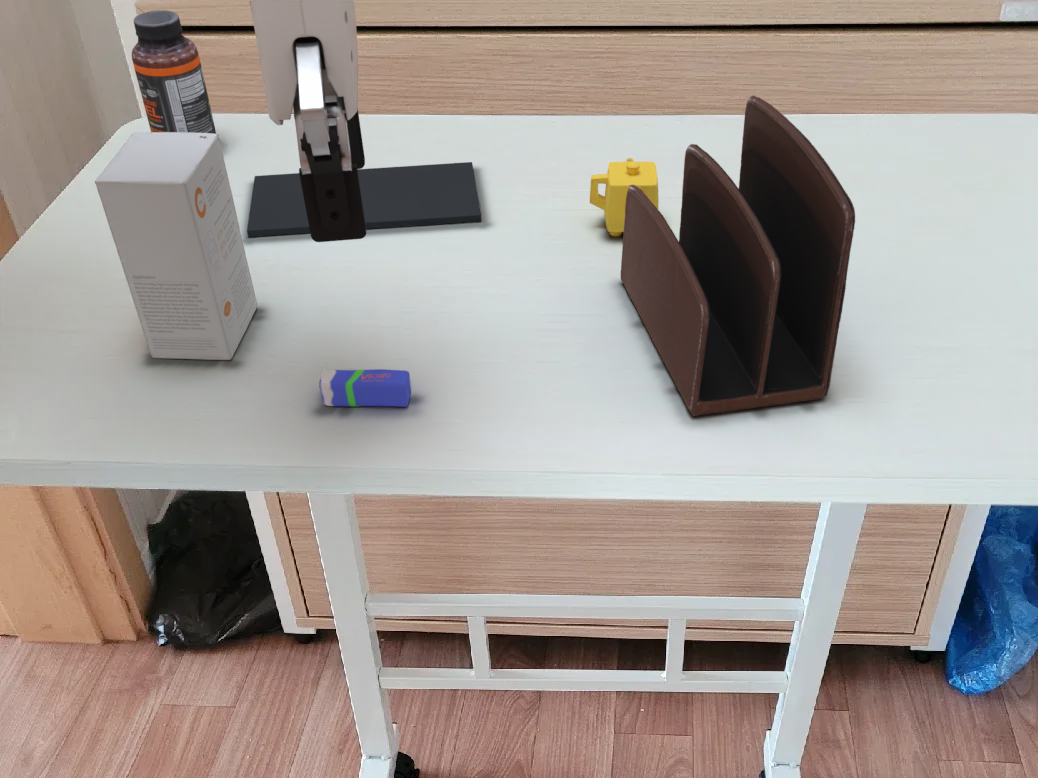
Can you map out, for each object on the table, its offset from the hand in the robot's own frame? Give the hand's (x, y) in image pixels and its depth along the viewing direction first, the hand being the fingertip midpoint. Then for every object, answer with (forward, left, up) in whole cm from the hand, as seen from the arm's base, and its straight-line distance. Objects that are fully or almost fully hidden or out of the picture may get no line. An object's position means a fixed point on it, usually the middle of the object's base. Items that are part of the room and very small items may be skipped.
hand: (340, 201), depth 68 cm
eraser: (0, 0, -14) cm, 14 cm away
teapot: (+22, +24, -14) cm, 35 cm away
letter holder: (+26, +5, -14) cm, 30 cm away
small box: (-12, +11, -14) cm, 21 cm away
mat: (0, +32, -14) cm, 34 cm away
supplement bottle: (-17, +46, -14) cm, 51 cm away
